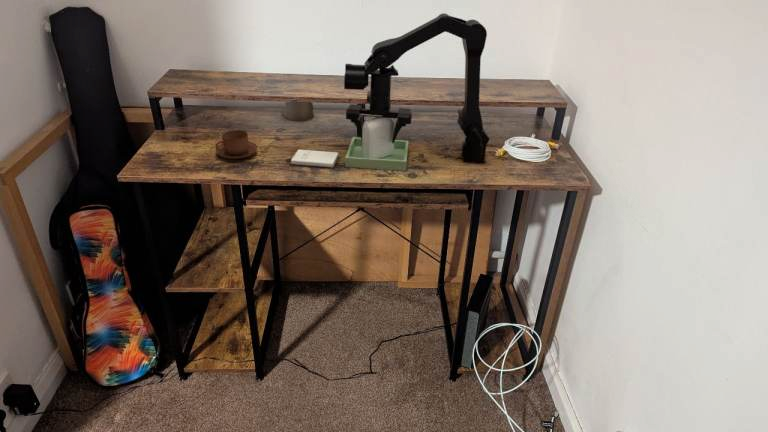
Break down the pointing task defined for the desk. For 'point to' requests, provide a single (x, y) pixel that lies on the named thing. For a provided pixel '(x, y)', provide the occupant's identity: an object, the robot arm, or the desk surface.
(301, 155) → the hard drive
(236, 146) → the cup and saucer
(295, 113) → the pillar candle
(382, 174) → the desk surface
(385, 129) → the white rounded tower
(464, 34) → the robot arm
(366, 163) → the tray
